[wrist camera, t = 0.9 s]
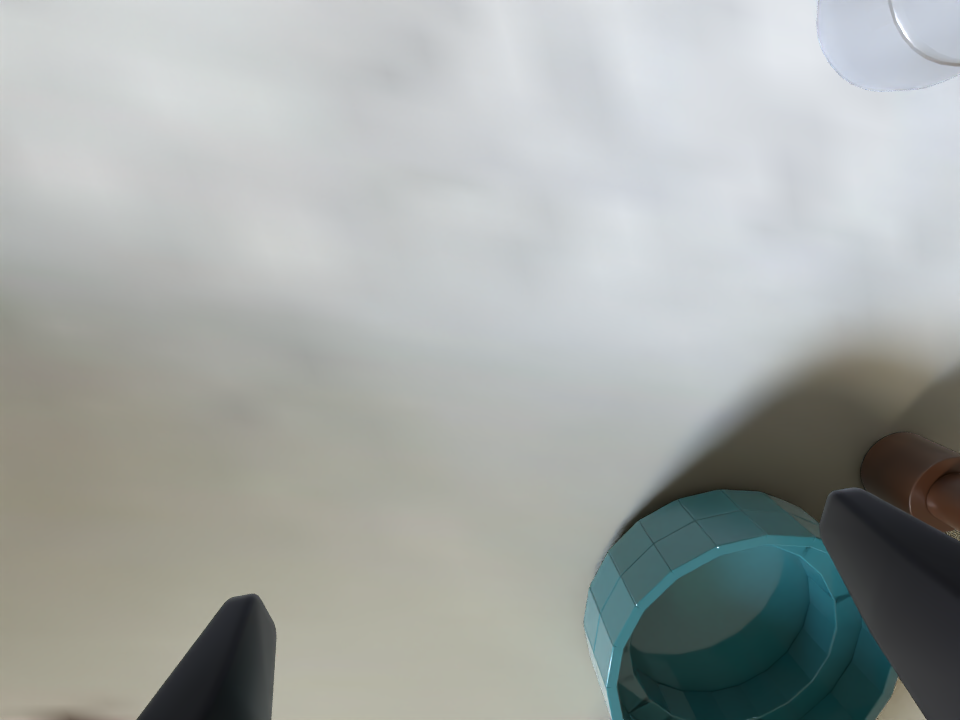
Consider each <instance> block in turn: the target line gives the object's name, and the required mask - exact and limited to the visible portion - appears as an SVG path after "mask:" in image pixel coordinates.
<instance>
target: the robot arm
mask: <svg viewBox="0 0 960 720" xmlns="http://www.w3.org/2000/svg"><path fill="white" fill-rule="evenodd" d="M819 532H820V536H821V539H822V542H823V544H824V546H825V547H826V549H827V551H828V553H829V555H830V557H831V559H832V561H833V563H834V565H835V567H836V569H837V570H838V572H839V574H840V576H841V578H842V580H843V582H844V584H845V586H846V588H847V590H848V592H849V593H850V595H851V597H852V599H853V601H854V603H855V605H856V607H857V609H858V611H859V613H860V615H861V616H862V618H863V620H864V622H865V624H866V626H867V627H868V629H869V631H870V633H871V634H872V636H873V638H874V639H875V641H876V642H877V644H878V646H879V647H880V649H881V650H882V652H883V653H884V655H885V657H886V658H887V660H888V661H889V663H890V664H891V666H892V667H893V669H894V670H895V672H896V673H897V675H898V676H899V678H900V680H901V681H902V683H903V684H904V686H905V687H906V689H907V690H908V692H909V693H910V695H911V696H912V698H913V699H914V701H915V703H916V704H917V706H918V707H919V709H920V710H921V712H922V713H923V715H924V716H925V718H926V719H927V720H960V541H958V540H956V539H954V538H952V537H951V536H949V535H947V534H945V533H943V532H941V531H939V530H938V529H936V528H934V527H932V526H930V525H928V524H927V523H925V522H923V521H921V520H919V519H917V518H915V517H914V516H912V515H910V514H908V513H906V512H904V511H902V510H901V509H899V508H897V507H895V506H893V505H891V504H889V503H888V502H886V501H884V500H882V499H880V498H878V497H876V496H875V495H873V494H871V493H869V492H867V491H865V490H863V489H860V488H856V487H855V488H846V489H841V490H835V491H832V492H831V493H830V494H829V495H828V497H827V500H826V503H825V507H824V510H823V513H822V517H821V520H820V524H819ZM275 653H276V628H275V625H274V622H273V620H272V618H271V617H270V615H269V613H268V611H267V609H266V608H265V606H264V604H263V602H262V600H261V599H260V597H259V596H258V595H256V594H247V595H242V596H236V597H232V598H230V599H228V600H227V601H226V602H225V603H224V604H223V606H222V607H221V608H220V610H219V611H218V612H217V614H216V615H215V616H214V618H213V619H212V620H211V622H210V623H209V624H208V626H207V627H206V628H205V629H204V631H203V632H202V633H201V635H200V636H199V637H198V639H197V640H196V641H195V643H194V644H193V645H192V647H191V648H190V649H189V651H188V652H187V653H186V655H185V656H184V657H183V659H182V660H181V661H180V663H179V664H178V665H177V667H176V668H175V669H174V671H173V672H172V673H171V675H170V676H169V677H168V679H167V680H166V681H165V683H164V684H163V685H162V687H161V688H160V689H159V691H158V692H157V693H156V695H155V696H154V697H153V698H152V700H151V701H150V702H149V704H148V705H147V706H146V708H145V709H144V710H143V712H142V713H141V714H140V716H139V717H138V718H137V720H271V716H272V700H273V684H274V669H275Z"/></svg>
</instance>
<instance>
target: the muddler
mask: <svg viewBox="0 0 960 720" xmlns="http://www.w3.org/2000/svg"><path fill="white" fill-rule="evenodd" d="M861 480H862V483H863V486H864V488H865V489H866V491H867V492H869V493H871V494H873V495H875V496H876V497H878V498H880V499H882V500H884V501H886V502H888V503H889V504H891V505H893V506H895V507H897V508H899V509H901V510H902V511H904V512H906V513H908V514H910V515H912V516H914V517H915V518H917V519H919V520H921V521H923V522H925V523H927V524H928V525H930V526H932V527H934V528H936V529H938V530H939V531H941V532H949V531H953V530H957V531H959V532H960V454H959V453H957V452H955V451H953V450H950V449H948V448H946V447H944V446H942V445H939V444H937V443H935V442H933V441H930V440H928V439H926V438H924V437H922V436H919V435H917V434H914V433H910V432H899V433H894V434H891V435H888V436H886V437H884V438H882V439H881V440H879V441H878V442H877V443H875V444H874V445H873V446H872V447H871V449H870V450H869V451H868V453H867V454H866V456H865V458H864V460H863V463H862V467H861Z"/></svg>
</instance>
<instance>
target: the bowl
mask: <svg viewBox="0 0 960 720" xmlns="http://www.w3.org/2000/svg"><path fill="white" fill-rule="evenodd" d="M819 524H820V523H819V522H817V521H816V520H815V519H814V518H812V517H811V516H810V515H809V514H807V513H806V512H805V511H804V510H802V509H801V508H800V507H798V506H796V505H794V504H791V503H789V502H786V501H784V500H781V499H779V498H776V497H774V496H771V495H769V494H766V493H764V492H759V491H742V490H726V489H720V490H719V489H718V490H714V491H709V492H705V493H701V494H697V495H692V496H688V497H684V498H680V499H678V500H674V501H673V502H671V503H669V504H667V505H665V506H664V507H662V508H660V509H658V510H656V511H655V512H653V513H651V514H649V515H647V516H646V517H644V518H642V519H640V520H639V521H637V522H636V523H635V524H634V525H633V526H632V527H631V528H630V529H629V530H628V531H627V532H626V533H625V534H624V535H623V536H622V537H621V538H620V539H619V540H618V541H617V542H616V543H615V544H614V545H613V546H612V547H611V548H610V549H609V550H608V551H609V552H607V554H606V556H605V558H604V560H603V562H602V564H601V566H600V568H599V569H598V571H597V573H596V575H595V577H594V579H593V581H592V583H591V584H590V587H589V592H588V598H587V604H586V610H585V616H584V630H585V635H586V639H587V644H588V649H589V654H590V658H591V661H592V664H593V667H594V670H595V673H596V676H597V679H598V682H599V685H600V687H601V691H602V694H603V697H604V699H605V702H606V705H607V708H608V711H609V714H610V717H611V720H876V718H877V717H878V715H879V714H880V712H881V711H882V710H883V708H884V707H885V705H886V704H887V702H888V701H889V699H890V698H891V695H892V694H893V691H894V688H895V685H896V681H897V678H898V675H897V673H896V672H895V670H894V669H893V667H892V666H891V664H890V663H889V661H888V660H887V658H886V657H885V655H884V653H883V652H882V650H881V649H880V647H879V646H878V644H877V642H876V641H875V639H874V638H873V636H872V634H871V633H870V631H869V629H868V627H867V626H866V624H865V622H864V620H863V618H862V616H861V615H860V613H859V611H858V609H857V607H856V605H855V603H854V601H853V599H852V597H851V595H850V593H849V592H848V590H847V588H846V586H845V584H844V582H843V580H842V578H841V576H840V574H839V572H838V570H837V569H836V567H835V565H834V563H833V561H832V559H831V557H830V555H829V553H828V551H827V549H826V547H825V546H824V544H823V542H822V539H821V536H820V532H819Z"/></svg>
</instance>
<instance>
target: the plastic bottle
mask: <svg viewBox="0 0 960 720" xmlns="http://www.w3.org/2000/svg"><path fill="white" fill-rule="evenodd" d="M816 26H817V34H818V40H819V43H820V46H821V49H822V52H823V54H824V55H825V57H826V59H827V61H828V62H829V64H830V65H831V67H832V68H833V69H834V70H835V71H836V72H837V73H838V74H839V75H840V76H841V77H842V78H843V79H845V80H846V81H848V82H849V83H851V84H852V85H854V86H857V87H860V88H863V89H865V90H871V91H880V92H883V91H903V90H914V89H923V88H927V87H930V86H933V85H936V84H939V83H942V82H944V81H946V80H949V79H951V78H953V77H956V76H958V75H960V0H818V6H817V20H816Z"/></svg>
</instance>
